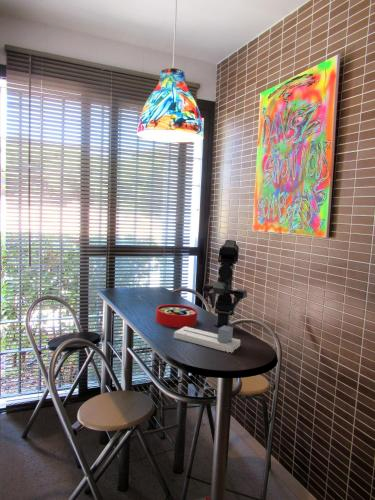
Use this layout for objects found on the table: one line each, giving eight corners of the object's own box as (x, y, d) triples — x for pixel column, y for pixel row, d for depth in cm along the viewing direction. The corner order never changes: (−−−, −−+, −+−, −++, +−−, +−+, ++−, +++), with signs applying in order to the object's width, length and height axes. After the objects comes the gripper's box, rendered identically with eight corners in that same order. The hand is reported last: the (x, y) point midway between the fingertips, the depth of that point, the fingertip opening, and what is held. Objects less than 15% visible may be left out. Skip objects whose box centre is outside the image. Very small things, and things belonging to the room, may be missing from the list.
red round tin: (148, 307, 176) (178, 302, 190) (147, 319, 177) (177, 313, 191) (176, 318, 162) (205, 312, 176) (174, 330, 163) (204, 323, 177)
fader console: (184, 331, 161) (185, 326, 161) (240, 345, 150) (240, 339, 149) (173, 337, 153) (174, 331, 152) (231, 353, 141) (232, 346, 140)
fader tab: (223, 336, 151) (224, 325, 150) (232, 339, 149) (233, 327, 148) (217, 340, 145) (218, 328, 145) (226, 343, 144) (227, 330, 143)
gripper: (198, 273, 153) (195, 309, 155) (240, 281, 145) (236, 318, 146) (209, 271, 163) (206, 304, 165) (249, 277, 155) (245, 313, 156)
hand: (222, 310), depth 158 cm, fingers open, 9 cm apart
